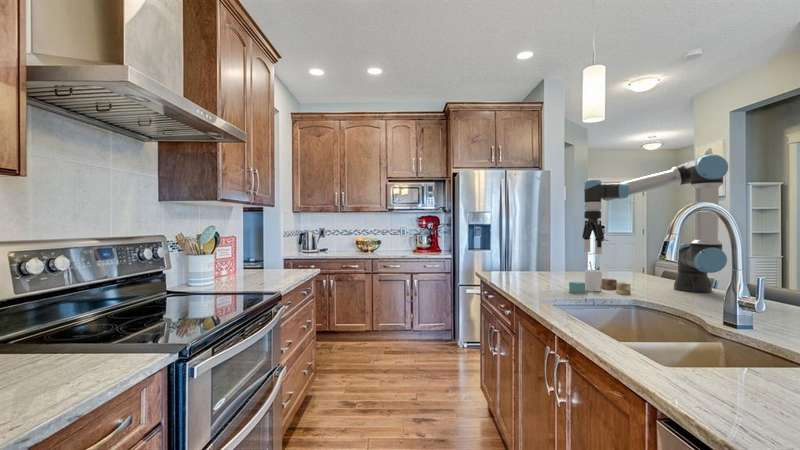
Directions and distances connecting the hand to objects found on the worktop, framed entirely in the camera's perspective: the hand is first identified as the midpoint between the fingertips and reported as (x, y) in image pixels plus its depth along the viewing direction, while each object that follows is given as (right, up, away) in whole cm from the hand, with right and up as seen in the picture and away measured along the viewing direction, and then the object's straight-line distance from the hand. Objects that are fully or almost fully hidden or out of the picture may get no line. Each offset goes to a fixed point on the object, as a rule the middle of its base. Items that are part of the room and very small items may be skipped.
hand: (592, 253), depth 190 cm
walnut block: (+11, -19, +5) cm, 22 cm away
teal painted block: (-10, -19, -5) cm, 22 cm away
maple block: (+11, -19, -8) cm, 23 cm away
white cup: (0, -19, 0) cm, 19 cm away
